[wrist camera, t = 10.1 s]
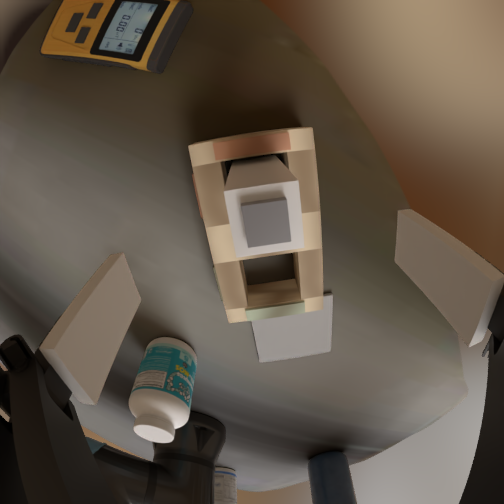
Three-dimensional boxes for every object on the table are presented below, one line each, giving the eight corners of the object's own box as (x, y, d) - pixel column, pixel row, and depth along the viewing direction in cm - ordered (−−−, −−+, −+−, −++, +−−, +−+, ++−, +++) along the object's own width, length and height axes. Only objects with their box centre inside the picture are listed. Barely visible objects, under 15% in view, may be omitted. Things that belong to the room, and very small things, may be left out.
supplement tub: (220, 476, 63) (219, 515, 50) (196, 469, 60) (193, 511, 47) (243, 471, 61) (244, 513, 48) (219, 464, 57) (218, 510, 44)
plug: (239, 200, 27) (236, 262, 16) (232, 160, 25) (222, 194, 14) (280, 194, 27) (306, 252, 16) (274, 154, 25) (300, 182, 14)
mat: (259, 360, 37) (259, 362, 37) (248, 305, 33) (248, 307, 32) (329, 349, 37) (330, 351, 36) (331, 292, 32) (332, 294, 32)
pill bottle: (203, 369, 38) (193, 450, 26) (156, 369, 38) (137, 444, 26) (190, 332, 35) (173, 422, 22) (139, 334, 35) (110, 415, 23)
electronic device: (78, -2, 15) (64, -9, 12) (197, 8, 18) (190, -5, 15) (49, 60, 19) (32, 57, 16) (161, 78, 22) (150, 73, 19)
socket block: (227, 301, 32) (226, 325, 28) (193, 142, 24) (183, 146, 20) (315, 288, 32) (323, 311, 28) (302, 126, 24) (313, 127, 20)
